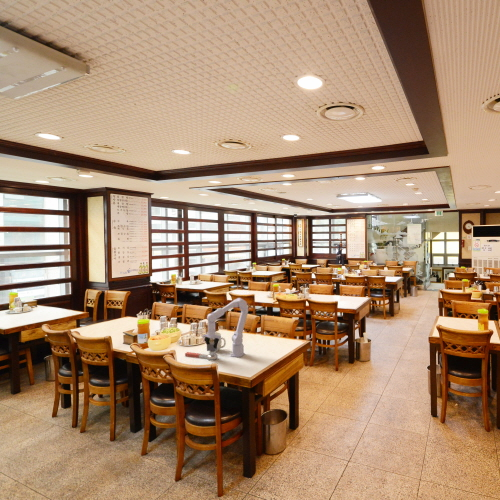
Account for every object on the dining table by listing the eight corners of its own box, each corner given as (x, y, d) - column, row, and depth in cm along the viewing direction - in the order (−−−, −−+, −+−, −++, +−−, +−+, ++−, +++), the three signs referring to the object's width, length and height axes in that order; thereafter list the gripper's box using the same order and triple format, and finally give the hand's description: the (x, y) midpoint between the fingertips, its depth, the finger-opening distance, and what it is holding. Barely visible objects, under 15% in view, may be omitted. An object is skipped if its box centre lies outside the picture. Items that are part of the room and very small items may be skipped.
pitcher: (222, 353, 272) (222, 336, 272) (202, 351, 280) (202, 334, 279) (228, 349, 282) (228, 332, 282) (209, 347, 290) (209, 330, 289)
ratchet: (183, 357, 266) (183, 350, 266) (189, 353, 273) (189, 347, 273) (214, 361, 256) (214, 353, 255) (219, 357, 263) (219, 350, 263)
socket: (210, 348, 264) (210, 342, 264) (217, 349, 262) (216, 342, 262) (206, 350, 259) (206, 344, 259) (213, 351, 257) (213, 344, 257)
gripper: (200, 330, 259) (201, 348, 260) (217, 331, 254) (218, 350, 254) (205, 328, 266) (205, 345, 266) (222, 329, 260) (222, 347, 261)
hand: (212, 347), depth 261 cm, fingers closed on socket, 6 cm apart
